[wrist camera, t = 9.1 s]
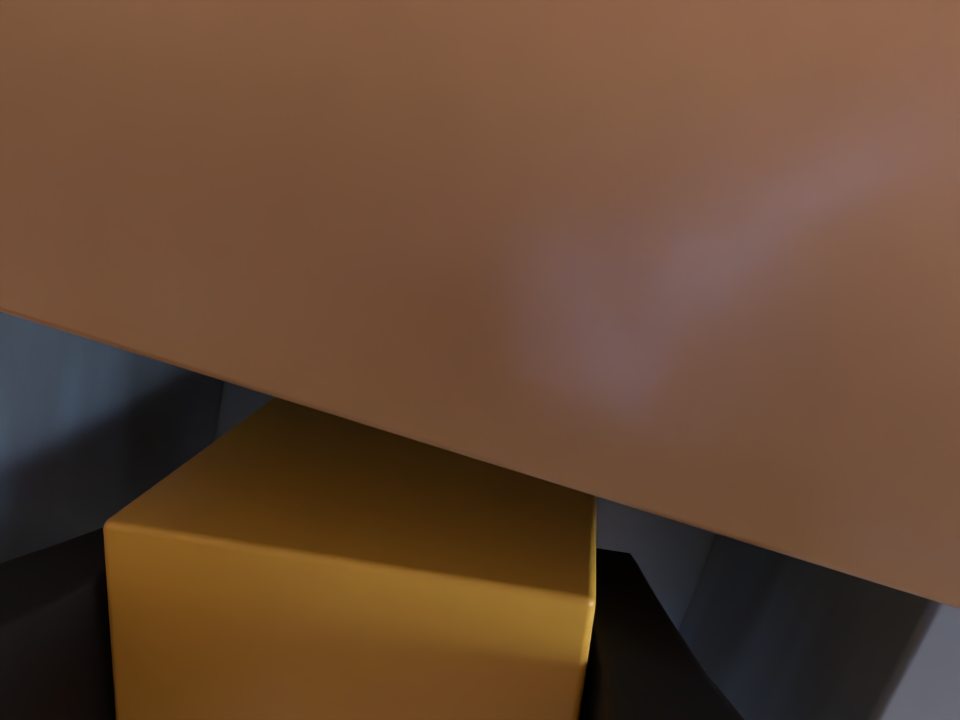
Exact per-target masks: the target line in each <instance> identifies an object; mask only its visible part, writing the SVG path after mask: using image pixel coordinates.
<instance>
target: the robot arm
mask: <svg viewBox="0 0 960 720" xmlns="http://www.w3.org/2000/svg"><path fill="white" fill-rule="evenodd" d="M103 528H104V527H103ZM103 528H100V529H97V530H95V531H92V532H89V533H87V534H84V535H81V536H78V537H76V538H73V539H70V540H68V541H65V542H62V543H59V544H56V545H53V546H50V547H47V548H44V549H41V550H38V551H35V552H32V553H29V554H26V555H23V556H20V557H17V558H14V559H11V560H8V561H5V562H3V563H0V720H116V712H115V697H114V682H113V667H112V652H111V637H110V622H109V608H108V593H107V578H106V563H105V548H104V533H103ZM579 720H744V719H743V717H742V716H741V715H740V714H739V713H738V711H737V710H736V709H735V707H734V706H733V705H732V704H731V702H730V701H729V700H728V699H727V697H726V696H725V695H724V694H723V692H722V691H721V690H720V689H719V687H718V686H717V685H716V683H715V682H714V681H713V679H712V678H711V677H710V675H709V674H708V673H707V671H706V670H705V669H704V667H703V666H702V664H701V663H700V662H699V660H698V659H697V657H696V656H695V654H694V653H693V651H692V650H691V649H690V647H689V646H688V644H687V643H686V641H685V640H684V638H683V637H682V636H681V634H680V633H679V631H678V630H677V628H676V627H675V625H674V624H673V622H672V621H671V619H670V618H669V616H668V614H667V613H666V611H665V610H664V608H663V606H662V605H661V603H660V601H659V600H658V598H657V597H656V595H655V593H654V592H653V590H652V588H651V587H650V585H649V583H648V581H647V580H646V578H645V576H644V574H643V572H642V571H641V569H640V567H639V565H638V563H637V562H636V561H635V559H634V558H633V557H632V555H631V554H630V553H626V552H619V551H613V550H606V549H599V548H596V606H595V613H594V620H593V627H592V634H591V641H590V648H589V655H588V662H587V669H586V676H585V683H584V690H583V697H582V704H581V711H580V719H579Z"/></svg>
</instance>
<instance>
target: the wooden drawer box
mask: <svg viewBox="0 0 960 720" xmlns="http://www.w3.org/2000/svg"><path fill="white" fill-rule="evenodd" d="M0 312H3V313H6V314H9V315H13V316H16V317H19V318H22V319H25V320H29V321H32V322H35V323H38V324H42V325H45V326H48V327H51V328H55V329H58V330H61V331H64V332H67V333H71V334H74V335H77V336H80V337H84V338H87V339H90V340H93V341H97V342H100V343H103V344H106V345H109V346H113V347H116V348H119V349H122V350H126V351H129V352H132V353H135V354H138V355H142V356H145V357H148V358H151V359H155V360H158V361H161V362H164V363H168V364H171V365H174V366H177V367H180V368H184V369H187V370H190V371H193V372H197V373H200V374H203V375H206V376H210V377H213V378H216V379H219V380H222V381H226V382H229V383H232V384H235V385H239V386H242V387H245V388H248V389H251V390H255V391H258V392H261V393H264V394H268V395H271V396H274V397H277V398H281V399H284V400H287V401H290V402H293V403H297V404H300V405H303V406H306V407H310V408H313V409H316V410H319V411H323V412H326V413H329V414H332V415H335V416H339V417H342V418H345V419H348V420H352V421H355V422H358V423H361V424H364V425H368V426H371V427H374V428H377V429H381V430H384V431H387V432H390V433H394V434H397V435H400V436H403V437H406V438H410V439H413V440H416V441H419V442H423V443H426V444H429V445H432V446H436V447H439V448H442V449H445V450H448V451H452V452H455V453H458V454H461V455H465V456H468V457H471V458H474V459H478V460H481V461H484V462H487V463H490V464H494V465H497V466H500V467H503V468H507V469H510V470H513V471H516V472H519V473H523V474H526V475H529V476H532V477H536V478H539V479H542V480H545V481H549V482H552V483H555V484H558V485H561V486H565V487H568V488H571V489H574V490H578V491H581V492H584V493H587V494H591V495H594V496H597V497H600V498H603V499H607V500H610V501H613V502H616V503H620V504H623V505H626V506H629V507H632V508H636V509H639V510H642V511H645V512H649V513H652V514H655V515H658V516H662V517H665V518H668V519H671V520H674V521H678V522H681V523H684V524H687V525H691V526H694V527H697V528H700V529H704V530H707V531H710V532H713V533H716V534H720V535H723V536H726V537H729V538H733V539H736V540H739V541H742V542H745V543H749V544H752V545H755V546H758V547H762V548H765V549H768V550H771V551H775V552H778V553H781V554H784V555H787V556H791V557H794V558H797V559H800V560H804V561H807V562H810V563H813V564H817V565H820V566H823V567H826V568H829V569H833V570H836V571H839V572H842V573H846V574H849V575H852V576H855V577H858V578H862V579H865V580H868V581H871V582H875V583H878V584H881V585H884V586H888V587H891V588H894V589H897V590H900V591H904V592H907V593H910V594H913V595H917V596H920V597H923V598H926V599H930V600H933V601H936V602H939V603H942V604H946V605H949V606H952V607H955V608H959V609H960V0H0Z"/></svg>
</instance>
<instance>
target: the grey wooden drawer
mask: <svg viewBox="0 0 960 720" xmlns="http://www.w3.org/2000/svg"><path fill="white" fill-rule="evenodd" d="M273 398H275V397H274V396H271V395H268V394H264V393H261V392H258V391H255V390H251V389H248V388H245V387H242V386H239V385H235V384H232V383H229V382H226V381H222V380H219V379H216V378H213V377H210V376H206V375H203V374H200V373H197V372H193V371H190V370H187V369H184V368H180V367H177V366H174V365H171V364H168V363H164V362H161V361H158V360H155V359H151V358H148V357H145V356H142V355H138V354H135V353H132V352H129V351H126V350H122V349H119V348H116V347H113V346H109V345H106V344H103V343H100V342H97V341H93V340H90V339H87V338H84V337H80V336H77V335H74V334H71V333H67V332H64V331H61V330H58V329H55V328H51V327H48V326H45V325H42V324H38V323H35V322H32V321H29V320H25V319H22V318H19V317H16V316H13V315H9V314H6V313H3V312H0V563H3V562H5V561H8V560H11V559H14V558H17V557H20V556H23V555H26V554H29V553H32V552H35V551H38V550H41V549H44V548H47V547H50V546H53V545H56V544H59V543H62V542H65V541H68V540H70V539H73V538H76V537H78V536H81V535H84V534H87V533H89V532H92V531H95V530H97V529H100V528H103V527H104V524H105V522H106V521H107V520H108V519H109V518H111V517H112V516H113V515H115V514H116V513H117V512H119V511H120V510H122V509H123V508H124V507H126V506H127V505H128V504H130V503H131V502H133V501H134V500H135V499H137V498H138V497H139V496H141V495H142V494H143V493H145V492H146V491H148V490H149V489H150V488H152V487H153V486H154V485H156V484H157V483H158V482H160V481H161V480H163V479H164V478H165V477H167V476H168V475H169V474H171V473H172V472H174V471H175V470H176V469H178V468H179V467H180V466H182V465H183V464H184V463H186V462H187V461H189V460H190V459H191V458H193V457H194V456H195V455H197V454H198V453H199V452H201V451H202V450H204V449H205V448H206V447H208V446H209V445H210V444H212V443H213V442H215V441H216V440H217V439H219V438H220V437H221V436H223V435H224V434H225V433H227V432H228V431H230V430H231V429H232V428H234V427H235V426H236V425H238V424H239V423H240V422H242V421H243V420H245V419H246V418H247V417H249V416H250V415H251V414H253V413H254V412H255V411H257V410H258V409H260V408H261V407H262V406H264V405H265V404H266V403H268V402H269V401H271V400H272V399H273ZM596 548H599V549H606V550H613V551H619V552H626V553H630V554H631V555H632V557H633V558H634V559H635V561H636V562H637V563H638V565H639V567H640V569H641V571H642V572H643V574H644V576H645V578H646V580H647V581H648V583H649V585H650V587H651V588H652V590H653V592H654V593H655V595H656V597H657V598H658V600H659V601H660V603H661V605H662V606H663V608H664V610H665V611H666V613H667V614H668V616H669V618H670V619H671V621H672V622H673V624H674V625H675V627H676V628H677V630H678V631H679V633H680V634H681V636H682V637H683V638H684V640H685V641H686V643H687V644H688V646H689V647H690V649H691V650H692V651H693V653H694V654H695V656H696V657H697V659H698V660H699V662H700V663H701V664H702V666H703V667H704V669H705V670H706V671H707V673H708V674H709V675H710V677H711V678H712V679H713V681H714V682H715V683H716V685H717V686H718V687H719V689H720V690H721V691H722V692H723V694H724V695H725V696H726V697H727V699H728V700H729V701H730V702H731V704H732V705H733V706H734V707H735V709H736V710H737V711H738V713H739V714H740V715H741V716H742V717H743V719H744V720H960V609H959V608H955V607H952V606H949V605H946V604H942V603H939V602H936V601H933V600H930V599H926V598H923V597H920V596H917V595H913V594H910V593H907V592H904V591H900V590H897V589H894V588H891V587H888V586H884V585H881V584H878V583H875V582H871V581H868V580H865V579H862V578H858V577H855V576H852V575H849V574H846V573H842V572H839V571H836V570H833V569H829V568H826V567H823V566H820V565H817V564H813V563H810V562H807V561H804V560H800V559H797V558H794V557H791V556H787V555H784V554H781V553H778V552H775V551H771V550H768V549H765V548H762V547H758V546H755V545H752V544H749V543H745V542H742V541H739V540H736V539H733V538H729V537H726V536H723V535H720V534H716V533H713V532H710V531H707V530H704V529H700V528H697V527H694V526H691V525H687V524H684V523H681V522H678V521H674V520H671V519H668V518H665V517H662V516H658V515H655V514H652V513H649V512H645V511H642V510H639V509H636V508H632V507H629V506H626V505H623V504H620V503H616V502H613V501H610V500H607V499H603V498H600V497H597V510H596Z"/></svg>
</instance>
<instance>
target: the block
mask: <svg viewBox="0 0 960 720" xmlns="http://www.w3.org/2000/svg"><path fill="white" fill-rule="evenodd" d="M596 510H597V496H594V495H591V494H587V493H584V492H581V491H578V490H574V489H571V488H568V487H565V486H561V485H558V484H555V483H552V482H549V481H545V480H542V479H539V478H536V477H532V476H529V475H526V474H523V473H519V472H516V471H513V470H510V469H507V468H503V467H500V466H497V465H494V464H490V463H487V462H484V461H481V460H478V459H474V458H471V457H468V456H465V455H461V454H458V453H455V452H452V451H448V450H445V449H442V448H439V447H436V446H432V445H429V444H426V443H423V442H419V441H416V440H413V439H410V438H406V437H403V436H400V435H397V434H394V433H390V432H387V431H384V430H381V429H377V428H374V427H371V426H368V425H364V424H361V423H358V422H355V421H352V420H348V419H345V418H342V417H339V416H335V415H332V414H329V413H326V412H323V411H319V410H316V409H313V408H310V407H306V406H303V405H300V404H297V403H293V402H290V401H287V400H284V399H281V398H277V397H275V398H273V399H272V400H271V401H269V402H268V403H266V404H265V405H264V406H262V407H261V408H260V409H258V410H257V411H255V412H254V413H253V414H251V415H250V416H249V417H247V418H246V419H245V420H243V421H242V422H240V423H239V424H238V425H236V426H235V427H234V428H232V429H231V430H230V431H228V432H227V433H225V434H224V435H223V436H221V437H220V438H219V439H217V440H216V441H215V442H213V443H212V444H210V445H209V446H208V447H206V448H205V449H204V450H202V451H201V452H199V453H198V454H197V455H195V456H194V457H193V458H191V459H190V460H189V461H187V462H186V463H184V464H183V465H182V466H180V467H179V468H178V469H176V470H175V471H174V472H172V473H171V474H169V475H168V476H167V477H165V478H164V479H163V480H161V481H160V482H158V483H157V484H156V485H154V486H153V487H152V488H150V489H149V490H148V491H146V492H145V493H143V494H142V495H141V496H139V497H138V498H137V499H135V500H134V501H133V502H131V503H130V504H128V505H127V506H126V507H124V508H123V509H122V510H120V511H119V512H117V513H116V514H115V515H113V516H112V517H111V518H109V519H108V520H107V521H106V522H105V524H104V528H103V533H104V548H105V563H106V578H107V593H108V608H109V622H110V637H111V652H112V667H113V682H114V697H115V712H116V720H579V719H580V711H581V704H582V697H583V690H584V683H585V676H586V669H587V662H588V655H589V648H590V641H591V634H592V627H593V620H594V613H595V606H596Z"/></svg>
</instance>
